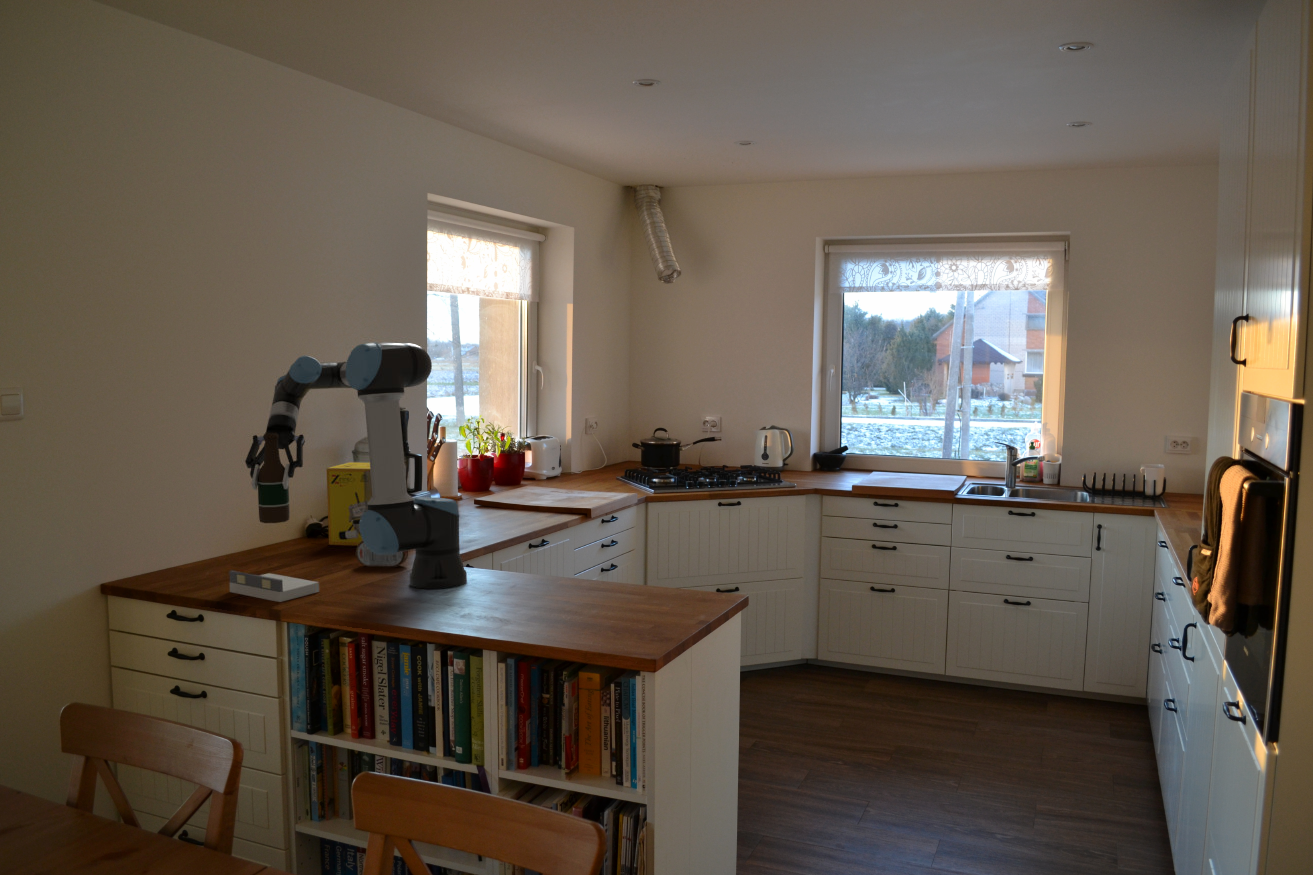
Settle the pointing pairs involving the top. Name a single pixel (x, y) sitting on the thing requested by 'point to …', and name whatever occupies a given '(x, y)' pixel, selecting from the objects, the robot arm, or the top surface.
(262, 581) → the grey slab
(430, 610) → the top surface
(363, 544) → the tin
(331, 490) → the packaging box
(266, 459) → the beer bottle
